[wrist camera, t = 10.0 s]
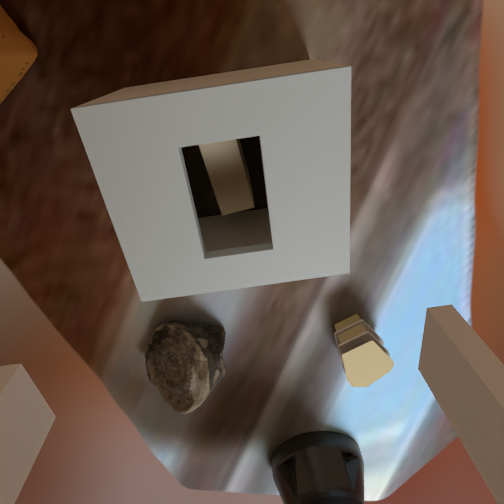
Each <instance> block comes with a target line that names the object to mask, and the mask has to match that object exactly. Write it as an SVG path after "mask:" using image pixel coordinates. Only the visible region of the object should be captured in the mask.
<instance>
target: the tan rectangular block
mask: <svg viewBox="0 0 504 504" xmlns="http://www.w3.org/2000/svg"><path fill="white" fill-rule="evenodd" d="M199 147H200V150H201V153H202V156H203V159H204V162H205V165H206V168H207V172H208V175H209V178H210V181H211V184H212V187H213V190H214V193H215V196H216V199H217V202H218V205H219V208H220V211H221V214H222V216H223V215H227V214H231V213H235V212H238V211H242V210H246V209H250V208H254V207H255V206H254V199H253V192H252V185H251V179H250V175H249V171H248V168H247V164H246V160H245V157H244V153H243V149H242V145H241V142H240V139H234V140H227V141H220V142H214V143H207V144H200V145H199Z"/></svg>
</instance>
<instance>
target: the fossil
mask: <svg viewBox="0 0 504 504" xmlns="http://www.w3.org/2000/svg"><path fill="white" fill-rule="evenodd" d="M225 334H226V333H225V330H224V328H222V327H215V328H213V327H211V328H209V327H207V326H206V325H203V324H189V323H180V322H175V321H169V322H166V323H163V324H161V325H159V326H158V327H156V328H155V329H154V330H153V331H152V337H151V340H150V341H149V342H148V346H147V347H146V350H145V358H146V363H145V364H146V369H147V373H148V377H149V380H150V382H151V383H152V384H154V385H155V386H157V388H158V389H159V391H160V394H161V395H162V397H163V398H164V401H165V402H166V403H167V404H168V405H171V406H172V407H173V409H174V410H175V411H176V412H178V413H180V414H188V413H191V412H193V411H194V410H196V409H197V408H198V407H199V406H201V405H202V403H203V402H204V401H205V400H206V398H207V397H208V396H209V395H210V393H211V392H212V391H213V390H214V389H215V388H216V387H217V385H218V383H219V382H220V381H221V380H222V379H223V378H224V376H225V374H226V367H225V365H224V362H223V359H222V351H223V348H224V342H225Z"/></svg>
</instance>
